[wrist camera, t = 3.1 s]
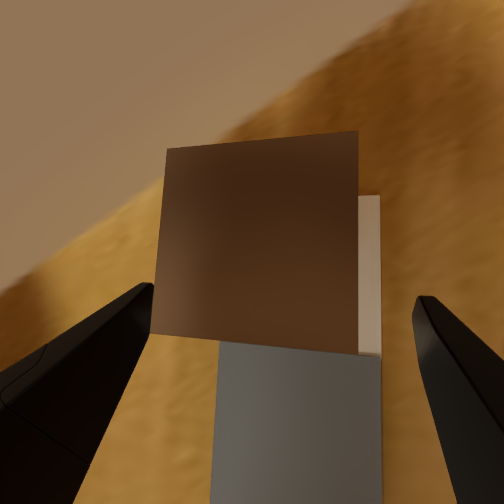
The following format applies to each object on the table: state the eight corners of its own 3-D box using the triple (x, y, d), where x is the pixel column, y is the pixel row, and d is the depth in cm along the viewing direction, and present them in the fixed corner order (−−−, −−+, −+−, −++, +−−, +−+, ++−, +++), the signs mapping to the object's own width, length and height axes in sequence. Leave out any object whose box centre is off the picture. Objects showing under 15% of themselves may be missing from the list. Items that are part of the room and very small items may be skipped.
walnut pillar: (337, 313, 17) (358, 355, 6) (259, 308, 19) (149, 333, 7) (338, 233, 18) (358, 130, 6) (262, 234, 19) (166, 148, 8)
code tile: (380, 358, 17) (381, 359, 16) (224, 341, 19) (221, 342, 19) (378, 197, 18) (379, 195, 18) (232, 202, 21) (230, 200, 20)
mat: (380, 542, 15) (382, 552, 15) (213, 498, 18) (209, 505, 17) (378, 355, 17) (380, 357, 16) (222, 339, 19) (219, 341, 19)
